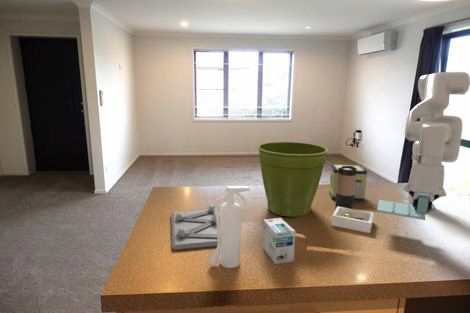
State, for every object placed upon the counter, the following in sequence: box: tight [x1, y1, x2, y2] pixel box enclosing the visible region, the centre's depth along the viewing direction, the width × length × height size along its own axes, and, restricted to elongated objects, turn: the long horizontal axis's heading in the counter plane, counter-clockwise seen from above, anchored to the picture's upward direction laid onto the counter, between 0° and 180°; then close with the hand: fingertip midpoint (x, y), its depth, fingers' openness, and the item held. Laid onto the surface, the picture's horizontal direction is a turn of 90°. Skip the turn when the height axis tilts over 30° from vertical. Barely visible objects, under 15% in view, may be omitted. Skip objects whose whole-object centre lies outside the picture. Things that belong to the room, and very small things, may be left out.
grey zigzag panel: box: [170, 204, 220, 251], centre depth 118 cm, size 30×22×7 cm
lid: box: [376, 193, 429, 221], centre depth 112 cm, size 12×16×7 cm
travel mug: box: [334, 166, 357, 210], centre depth 135 cm, size 8×8×20 cm
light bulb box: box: [262, 217, 296, 265], centre depth 100 cm, size 11×7×11 cm, turn 17°
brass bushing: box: [344, 213, 352, 218], centre depth 124 cm, size 3×3×3 cm
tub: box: [331, 206, 375, 234], centre depth 122 cm, size 11×14×5 cm
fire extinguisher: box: [208, 185, 250, 269], centre depth 93 cm, size 7×12×25 cm, turn 112°
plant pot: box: [257, 141, 329, 218], centre depth 136 cm, size 30×30×29 cm
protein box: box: [328, 164, 368, 202], centre depth 154 cm, size 10×16×16 cm
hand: (421, 209), depth 110 cm, fingers closed on lid, 3 cm apart
